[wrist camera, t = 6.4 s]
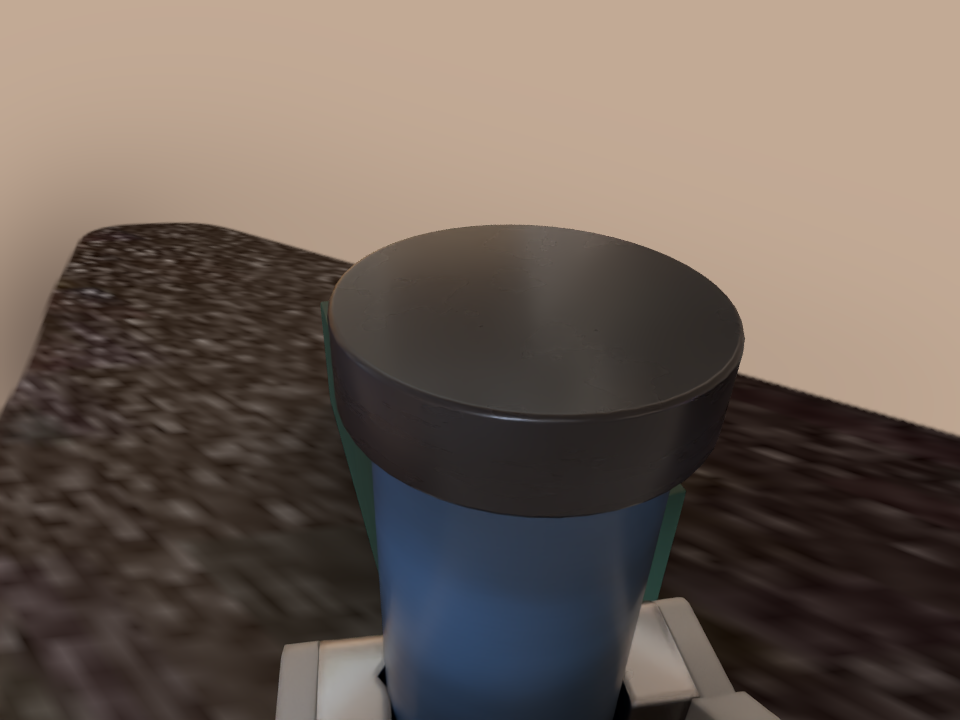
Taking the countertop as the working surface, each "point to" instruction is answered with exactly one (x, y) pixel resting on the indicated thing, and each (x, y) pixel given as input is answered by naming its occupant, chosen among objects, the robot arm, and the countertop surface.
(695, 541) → the countertop surface
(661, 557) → the holder
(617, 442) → the handle
